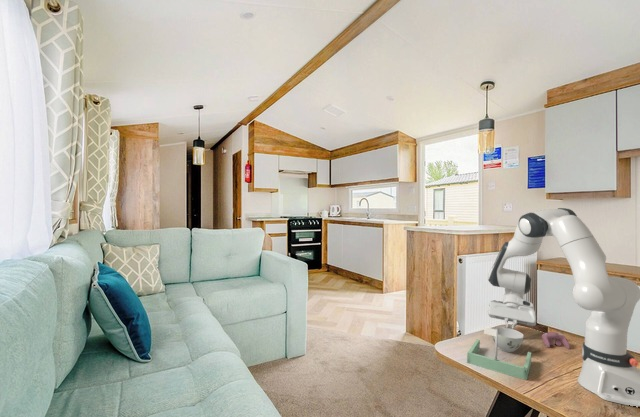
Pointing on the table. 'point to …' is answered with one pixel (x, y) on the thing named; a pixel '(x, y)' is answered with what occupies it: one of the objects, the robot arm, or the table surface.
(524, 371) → the corral
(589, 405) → the table surface
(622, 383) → the robot arm
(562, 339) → the video game controller
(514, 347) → the teacup
